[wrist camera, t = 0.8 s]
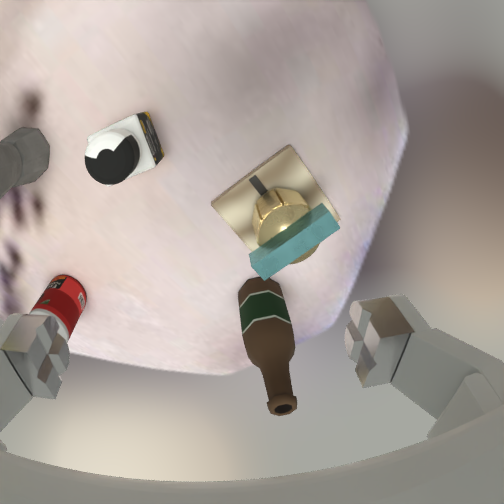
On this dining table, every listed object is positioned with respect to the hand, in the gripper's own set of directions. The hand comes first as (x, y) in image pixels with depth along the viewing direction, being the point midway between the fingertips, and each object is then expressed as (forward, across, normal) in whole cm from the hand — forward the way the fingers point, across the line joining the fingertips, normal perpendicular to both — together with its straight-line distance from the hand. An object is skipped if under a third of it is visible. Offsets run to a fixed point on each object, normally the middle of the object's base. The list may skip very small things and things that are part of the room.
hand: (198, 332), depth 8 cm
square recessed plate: (+39, -9, +11) cm, 41 cm away
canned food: (+39, +28, +24) cm, 54 cm away
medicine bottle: (+39, +11, 0) cm, 40 cm away
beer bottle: (+39, -6, +26) cm, 47 cm away
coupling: (+36, -9, +11) cm, 38 cm away
